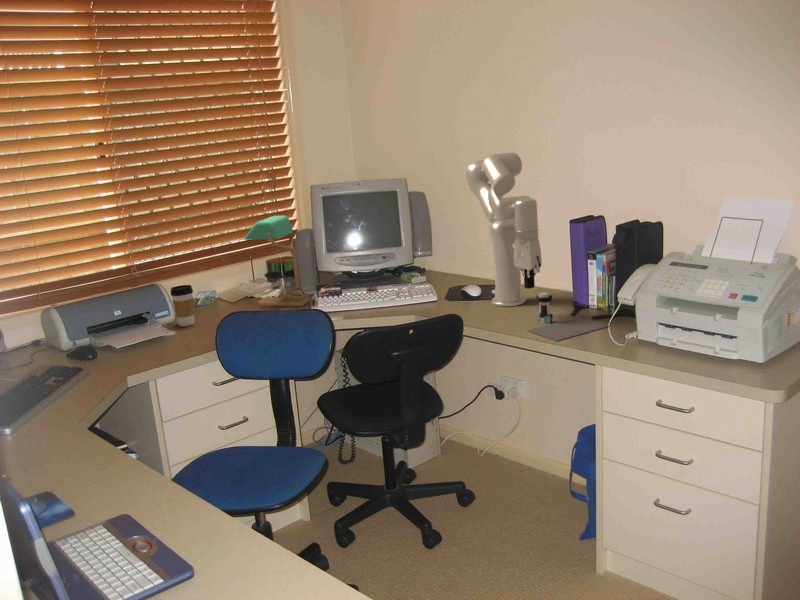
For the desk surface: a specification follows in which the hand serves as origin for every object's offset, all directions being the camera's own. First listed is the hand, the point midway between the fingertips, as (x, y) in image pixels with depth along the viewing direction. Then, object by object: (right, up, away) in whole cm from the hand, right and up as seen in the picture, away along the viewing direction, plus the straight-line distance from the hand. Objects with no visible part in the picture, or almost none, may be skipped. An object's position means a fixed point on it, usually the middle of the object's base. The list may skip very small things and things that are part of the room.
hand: (529, 287), depth 269 cm
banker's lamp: (-93, -6, +50) cm, 105 cm away
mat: (+10, -14, -13) cm, 22 cm away
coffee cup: (-127, -14, +31) cm, 131 cm away
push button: (+5, -12, -4) cm, 14 cm away
